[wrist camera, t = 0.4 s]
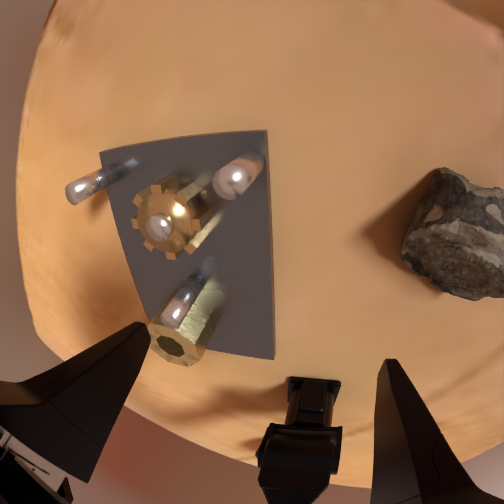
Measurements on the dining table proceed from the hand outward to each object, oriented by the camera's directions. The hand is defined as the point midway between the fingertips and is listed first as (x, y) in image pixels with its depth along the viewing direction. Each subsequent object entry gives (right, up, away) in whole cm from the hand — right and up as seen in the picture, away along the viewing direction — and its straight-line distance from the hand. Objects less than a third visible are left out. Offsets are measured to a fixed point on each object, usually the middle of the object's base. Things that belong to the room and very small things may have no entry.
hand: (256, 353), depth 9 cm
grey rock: (+16, +6, +9) cm, 19 cm away
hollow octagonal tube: (-7, -4, +19) cm, 21 cm away
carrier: (-6, +3, +16) cm, 17 cm away
